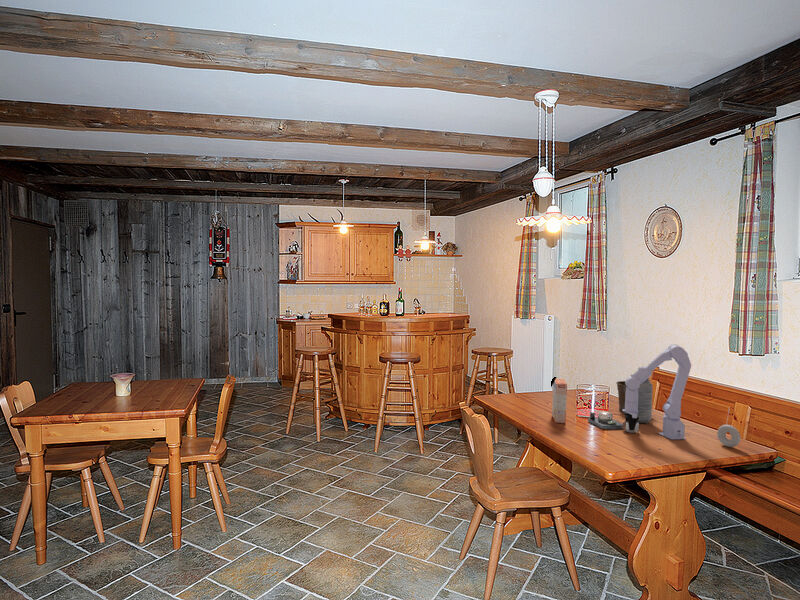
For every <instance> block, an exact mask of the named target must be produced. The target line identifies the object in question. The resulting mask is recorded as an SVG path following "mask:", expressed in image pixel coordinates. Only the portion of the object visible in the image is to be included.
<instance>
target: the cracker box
mask: <svg viewBox="0 0 800 600" xmlns="http://www.w3.org/2000/svg"><path fill="white" fill-rule="evenodd" d="M567 392H568V384H567V382H566V381H565V379H562V378H555V379H554V380H553V382H552V407H551V410H552V411H551V417H552V419H553V421H554V423H557V424H566V422H567V418H566V417H567V400H568V399H567V397H568V396H567V395H568V393H567Z"/></svg>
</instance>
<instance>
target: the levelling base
mask: <svg viewBox="0 0 800 600" xmlns="http://www.w3.org/2000/svg"><path fill="white" fill-rule="evenodd" d="M613 416H614V414H613V413H612V412H610V411H598V412H597V417H596V413H595V412H590V413H589V417H588V418H587V422H588V423H590V424H591V423H592V424H591V425H593V424H594V425H593V426H595V425H596V426H595V427H597V426H598V427H597V428H599V429H600V428H601V429H600V430H602V429H607V430H623V429H622V428H623V422H622V423H621V422H620V421H618V420H615V419H613Z"/></svg>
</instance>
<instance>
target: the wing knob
mask: <svg viewBox="0 0 800 600" xmlns="http://www.w3.org/2000/svg"><path fill="white" fill-rule="evenodd" d="M622 424H623V428H622V429H621V430H624V431H625V432H626V433H631V434H636V433H637V432H639V429H640V427H639V425H640V424H639V423H636V426H635V429H634V430H629V425H628V421H626V420H622Z"/></svg>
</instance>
